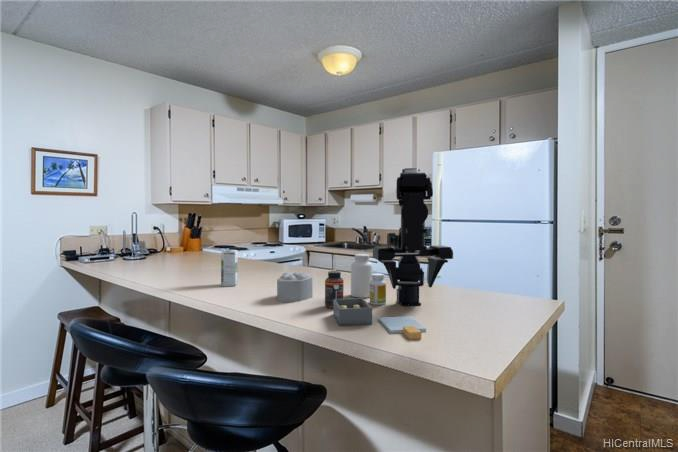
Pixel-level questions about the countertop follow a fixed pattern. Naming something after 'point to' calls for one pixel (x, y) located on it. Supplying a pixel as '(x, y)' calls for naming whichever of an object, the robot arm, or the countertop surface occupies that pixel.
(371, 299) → the supplement bottle
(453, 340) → the countertop surface
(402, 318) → the lid
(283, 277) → the lumpy-topped squat cylinder
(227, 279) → the syrup box
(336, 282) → the supplement bottle
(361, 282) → the pill bottle
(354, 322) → the tub
